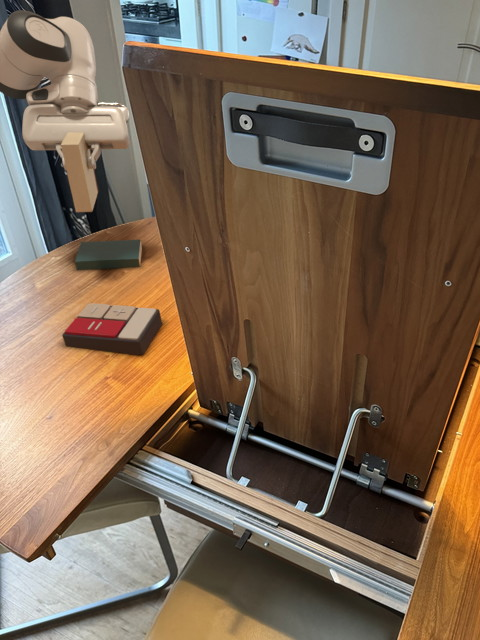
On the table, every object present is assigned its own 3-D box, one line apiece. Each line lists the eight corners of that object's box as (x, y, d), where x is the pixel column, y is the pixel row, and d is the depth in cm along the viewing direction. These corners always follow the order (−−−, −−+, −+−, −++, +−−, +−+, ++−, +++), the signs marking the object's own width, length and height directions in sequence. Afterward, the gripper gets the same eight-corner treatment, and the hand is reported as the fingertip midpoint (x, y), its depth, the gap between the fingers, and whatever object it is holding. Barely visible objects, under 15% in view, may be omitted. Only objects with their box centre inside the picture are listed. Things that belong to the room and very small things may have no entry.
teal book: (77, 273, 118) (74, 261, 116) (83, 253, 125) (80, 241, 123) (140, 270, 120) (138, 258, 118) (142, 250, 127) (140, 239, 125)
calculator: (86, 300, 102) (159, 305, 100) (92, 318, 105) (163, 324, 102) (59, 332, 93) (138, 338, 91) (66, 351, 96) (142, 357, 94)
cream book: (75, 212, 104) (60, 144, 96) (82, 192, 113) (69, 128, 104) (92, 211, 105) (79, 144, 96) (98, 191, 113) (86, 128, 105)
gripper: (130, 111, 109) (134, 174, 108) (28, 112, 106) (32, 176, 105) (125, 92, 103) (130, 158, 102) (17, 93, 100) (20, 160, 99)
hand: (79, 167), depth 104 cm, fingers closed on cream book, 3 cm apart
